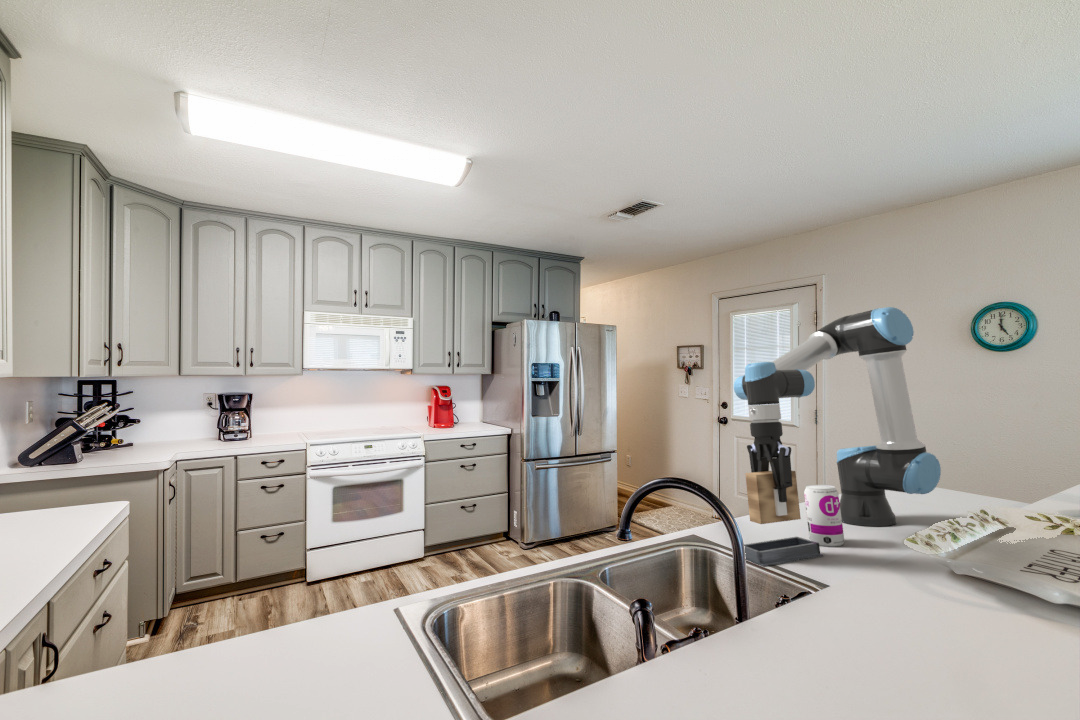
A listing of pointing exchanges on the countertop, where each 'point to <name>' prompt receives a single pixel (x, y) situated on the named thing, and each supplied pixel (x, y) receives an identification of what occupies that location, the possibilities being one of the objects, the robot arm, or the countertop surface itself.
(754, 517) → the panel
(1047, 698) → the countertop surface
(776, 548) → the track
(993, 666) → the countertop surface
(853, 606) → the countertop surface
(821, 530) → the supplement can
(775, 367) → the robot arm
